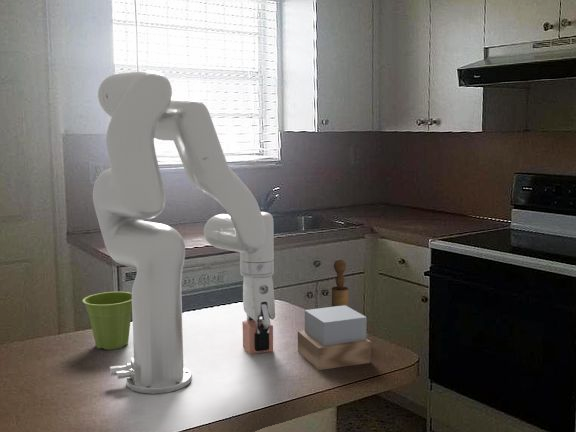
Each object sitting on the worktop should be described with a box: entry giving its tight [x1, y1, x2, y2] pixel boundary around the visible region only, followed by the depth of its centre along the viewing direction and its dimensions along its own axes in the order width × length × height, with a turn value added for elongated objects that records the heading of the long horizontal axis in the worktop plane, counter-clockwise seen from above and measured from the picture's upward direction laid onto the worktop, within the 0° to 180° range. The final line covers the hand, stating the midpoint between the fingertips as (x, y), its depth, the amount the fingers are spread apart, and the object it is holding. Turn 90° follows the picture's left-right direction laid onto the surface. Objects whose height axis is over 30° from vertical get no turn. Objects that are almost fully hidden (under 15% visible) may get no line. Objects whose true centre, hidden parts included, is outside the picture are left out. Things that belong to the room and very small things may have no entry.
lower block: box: [297, 329, 372, 371], centre depth 144 cm, size 12×12×5 cm
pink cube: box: [242, 320, 274, 355], centre depth 150 cm, size 6×6×6 cm
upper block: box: [304, 305, 368, 346], centre depth 144 cm, size 10×10×5 cm
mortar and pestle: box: [331, 259, 349, 307], centre depth 160 cm, size 7×6×18 cm
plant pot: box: [82, 291, 132, 351], centre depth 152 cm, size 12×12×11 cm
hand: (257, 344), depth 150 cm, fingers closed on pink cube, 5 cm apart
